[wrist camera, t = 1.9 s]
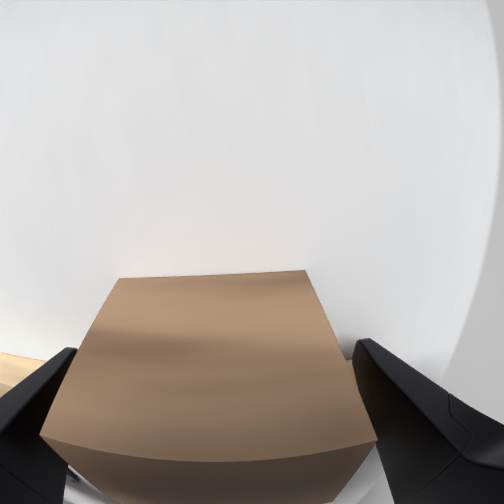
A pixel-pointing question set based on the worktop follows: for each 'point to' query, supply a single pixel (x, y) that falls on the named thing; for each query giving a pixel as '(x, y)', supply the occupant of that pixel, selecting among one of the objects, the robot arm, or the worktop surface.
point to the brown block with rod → (211, 395)
